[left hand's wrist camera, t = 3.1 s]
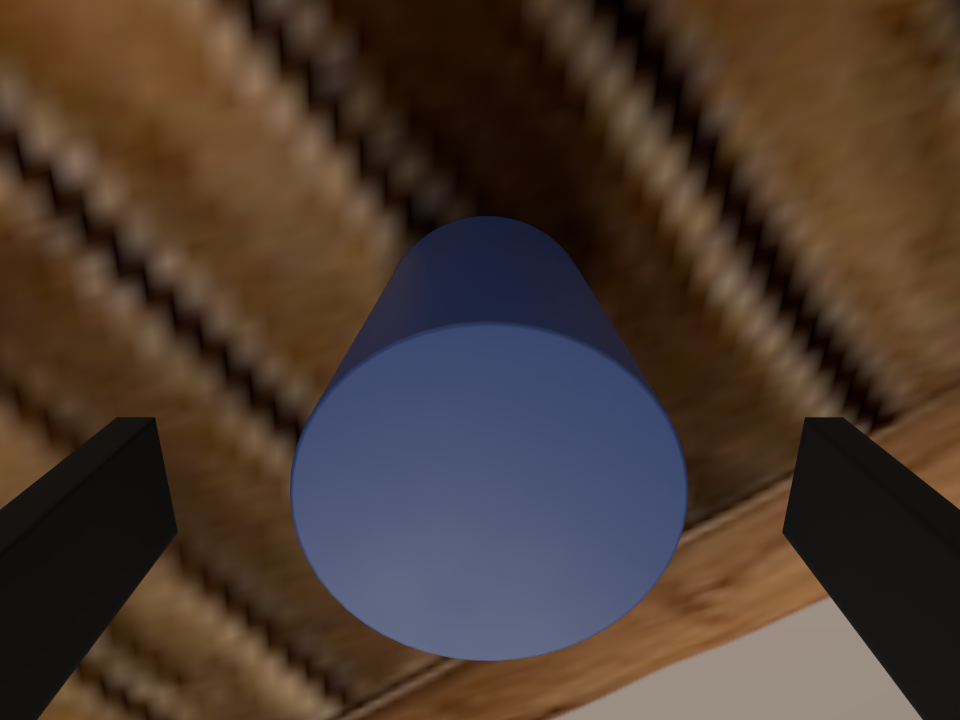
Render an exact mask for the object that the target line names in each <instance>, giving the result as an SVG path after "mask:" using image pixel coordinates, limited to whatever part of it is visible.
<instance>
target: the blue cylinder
mask: <svg viewBox="0 0 960 720" xmlns="http://www.w3.org/2000/svg"><path fill="white" fill-rule="evenodd" d="M290 498H291V508H292V517H293V521H294V524H295V528H296V532H297V536H298V539H299V542H300V544H301V547H302V549H303V551H304V554H305V556H306V558H307V560H308V562H309V564H310V565H311V567H312V569H313V570H314V572H315V574H316V575H317V577H318V578H319V580H320V581H321V582H322V583H323V585H324V586H325V587H326V588H327V590H328V591H329V592H330V594H331V595H332V596H333V597H334V598H335V599H336V600H337V601H338V602H339V603H340V604H341V605H342V606H343V607H345V608H346V609H347V610H348V611H349V612H350V613H352V614H353V615H354V616H355V617H357V618H358V619H359V620H361V621H362V622H363V623H365V624H366V625H368V626H369V627H371V628H373V629H374V630H376V631H378V632H379V633H381V634H383V635H384V636H387V637H389V638H391V639H393V640H395V641H397V642H400V643H402V644H404V645H407V646H410V647H413V648H415V649H418V650H421V651H424V652H428V653H432V654H436V655H441V656H445V657H450V658H458V659H466V660H483V661H499V660H512V659H521V658H527V657H533V656H538V655H543V654H546V653H550V652H553V651H557V650H560V649H564V648H566V647H569V646H571V645H574V644H576V643H579V642H581V641H584V640H586V639H588V638H589V637H591V636H593V635H595V634H597V633H599V632H601V631H603V630H604V629H606V628H607V627H609V626H610V625H612V624H613V623H615V622H616V621H618V620H619V619H621V618H622V617H623V616H625V615H626V614H627V613H628V612H629V611H630V610H631V609H633V608H634V607H635V606H636V605H637V604H638V603H639V602H640V601H641V600H642V599H643V598H644V597H645V596H646V595H647V594H648V592H649V591H650V590H651V589H652V588H653V587H654V586H655V584H656V583H657V581H658V580H659V578H660V577H661V575H662V574H663V573H664V571H665V570H666V568H667V567H668V565H669V562H670V560H671V558H672V556H673V554H674V552H675V550H676V548H677V546H678V543H679V540H680V537H681V534H682V531H683V527H684V523H685V517H686V511H687V505H688V475H687V468H686V461H685V456H684V453H683V450H682V446H681V443H680V440H679V437H678V434H677V432H676V430H675V428H674V426H673V424H672V422H671V420H670V418H669V416H668V414H667V412H666V410H665V409H664V407H663V406H662V404H661V402H660V401H659V399H658V398H657V396H656V394H655V393H654V391H653V389H652V388H651V386H650V385H649V383H648V381H647V380H646V378H645V377H644V375H643V373H642V372H641V370H640V368H639V367H638V365H637V364H636V362H635V360H634V359H633V357H632V356H631V354H630V352H629V351H628V349H627V347H626V346H625V344H624V343H623V341H622V339H621V338H620V336H619V335H618V333H617V331H616V330H615V328H614V326H613V325H612V323H611V322H610V320H609V318H608V317H607V315H606V314H605V312H604V310H603V309H602V307H601V305H600V304H599V302H598V301H597V299H596V297H595V296H594V294H593V292H592V291H591V289H590V288H589V286H588V284H587V283H586V281H585V280H584V278H583V276H582V275H581V273H580V271H579V270H578V268H577V267H576V265H575V264H574V262H573V261H572V259H571V258H570V256H569V255H568V254H567V253H566V251H565V250H564V249H563V248H562V247H561V246H560V245H559V244H558V243H557V242H556V241H554V240H553V239H552V238H551V237H550V236H548V235H547V234H545V233H544V232H542V231H540V230H539V229H537V228H535V227H533V226H531V225H528V224H526V223H524V222H521V221H517V220H514V219H511V218H504V217H498V216H478V217H469V218H465V219H460V220H456V221H453V222H451V223H448V224H446V225H443V226H441V227H439V228H437V229H436V230H434V231H432V232H430V233H429V234H427V235H426V236H425V237H423V238H422V239H421V240H419V241H418V242H417V243H416V244H415V245H414V246H413V247H412V248H411V249H410V250H409V251H408V253H407V254H406V255H405V257H404V258H403V259H402V261H401V262H400V264H399V265H398V267H397V269H396V271H395V272H394V274H393V276H392V277H391V279H390V281H389V282H388V284H387V286H386V288H385V289H384V291H383V293H382V294H381V296H380V298H379V299H378V301H377V303H376V305H375V306H374V308H373V310H372V311H371V313H370V315H369V316H368V318H367V320H366V322H365V323H364V325H363V327H362V328H361V330H360V332H359V333H358V335H357V337H356V339H355V340H354V342H353V344H352V345H351V347H350V349H349V350H348V352H347V354H346V356H345V357H344V359H343V361H342V362H341V364H340V366H339V367H338V369H337V371H336V373H335V374H334V376H333V378H332V379H331V381H330V383H329V384H328V386H327V388H326V390H325V391H324V393H323V395H322V396H321V398H320V400H319V401H318V403H317V405H316V407H315V408H314V410H313V412H312V414H311V415H310V417H309V419H308V421H307V422H306V424H305V426H304V428H303V431H302V434H301V436H300V439H299V442H298V444H297V447H296V450H295V455H294V460H293V464H292V469H291V483H290Z"/></svg>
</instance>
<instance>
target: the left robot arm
mask: <svg viewBox="0 0 960 720" xmlns="http://www.w3.org/2000/svg"><path fill="white" fill-rule="evenodd" d="M177 533H178V531H177V526H176V521H175V516H174V511H173V506H172V501H171V496H170V491H169V486H168V481H167V476H166V471H165V466H164V461H163V456H162V451H161V446H160V441H159V436H158V431H157V425H156V420H155V417H117V418H116V419H114V420H113V421H112V422H111V423H109V424H108V425H107V426H105V427H104V428H103V429H102V430H100V431H99V432H98V433H97V434H95V435H94V436H93V437H92V438H90V439H89V440H88V441H87V442H85V443H84V444H83V445H81V446H80V447H79V448H78V449H76V450H75V451H74V452H73V453H71V454H70V455H69V456H68V457H66V458H65V459H64V460H63V461H61V462H60V463H59V464H57V465H56V466H55V467H54V468H52V469H51V470H50V471H49V472H47V473H46V474H45V475H44V476H42V477H41V478H40V479H38V480H37V481H36V482H35V483H33V484H32V485H31V486H30V487H28V488H27V489H26V490H25V491H23V492H22V493H21V494H20V495H18V496H17V497H16V498H14V499H13V500H12V501H11V502H9V503H8V504H7V505H6V506H4V507H3V508H2V509H1V510H0V720H37V719H38V718H39V717H40V715H41V714H42V713H43V711H44V710H45V709H46V707H47V706H48V705H49V703H50V702H51V701H52V699H53V698H54V697H55V695H56V694H57V693H58V691H59V690H60V689H61V687H62V686H63V685H64V683H65V682H66V681H67V679H68V678H69V677H70V675H71V674H72V673H73V671H74V670H75V669H76V667H77V666H78V665H79V663H80V662H81V661H82V659H83V658H84V657H85V655H86V654H87V653H88V651H89V650H90V649H91V647H92V646H93V645H94V643H95V642H96V641H97V639H98V638H99V637H100V635H101V634H102V633H103V631H104V630H105V629H106V627H107V626H108V625H109V623H110V622H111V621H112V619H113V618H114V617H115V615H116V614H117V613H118V611H119V610H120V609H121V607H122V606H123V605H124V603H125V602H126V601H127V599H128V598H129V597H130V595H131V594H132V593H133V591H134V590H135V589H136V587H137V586H138V585H139V583H140V582H141V581H142V579H143V578H144V577H145V575H146V574H147V573H148V571H149V570H150V569H151V567H152V566H153V565H154V563H155V562H156V561H157V559H158V558H159V557H160V555H161V554H162V553H163V551H164V550H165V549H166V547H167V546H168V545H169V544H170V542H171V541H172V540H173V538H174V537H175V536H176V534H177ZM782 533H783V534H784V536H785V537H786V538H787V540H788V541H789V542H790V544H791V545H792V546H793V548H794V549H795V550H796V551H797V553H798V554H799V555H800V557H801V558H802V559H803V561H804V562H805V563H806V565H807V566H808V567H809V569H810V570H811V571H812V573H813V574H814V575H815V577H816V578H817V579H818V581H819V582H820V583H821V585H822V586H823V587H824V589H825V590H826V591H827V593H828V594H829V595H830V597H831V598H832V599H833V601H834V602H835V603H836V605H837V606H838V607H839V609H840V610H841V611H842V613H843V614H844V615H845V617H846V618H847V619H848V621H849V622H850V623H851V625H852V626H853V627H854V629H855V630H856V631H857V633H858V634H859V635H860V637H861V638H862V639H863V641H864V642H865V643H866V645H867V646H868V647H869V649H870V650H871V651H872V653H873V654H874V655H875V657H876V658H877V659H878V661H879V662H880V663H881V665H882V666H883V667H884V669H885V670H886V671H887V673H888V674H889V675H890V677H891V678H892V679H893V681H894V682H895V683H896V685H897V686H898V687H899V689H900V690H901V691H902V693H903V694H904V695H905V697H906V698H907V699H908V701H909V702H910V703H911V705H912V706H913V707H914V709H915V710H916V711H917V713H918V714H919V715H920V717H921V718H922V719H923V720H960V510H959V509H958V508H957V507H956V506H954V505H953V504H952V503H951V502H949V501H948V500H947V499H946V498H944V497H943V496H942V495H940V494H939V493H938V492H937V491H935V490H934V489H933V488H932V487H930V486H929V485H928V484H927V483H925V482H924V481H923V480H922V479H920V478H919V477H918V476H916V475H915V474H914V473H913V472H911V471H910V470H909V469H908V468H906V467H905V466H904V465H903V464H901V463H900V462H899V461H897V460H896V459H895V458H894V457H892V456H891V455H890V454H889V453H887V452H886V451H885V450H884V449H882V448H881V447H880V446H879V445H877V444H876V443H875V442H873V441H872V440H871V439H870V438H868V437H867V436H866V435H865V434H863V433H862V432H861V431H860V430H858V429H857V428H856V427H855V426H853V425H852V424H851V423H849V422H848V421H847V420H846V419H844V418H843V417H805V420H804V425H803V431H802V436H801V441H800V446H799V451H798V456H797V461H796V466H795V471H794V476H793V481H792V486H791V491H790V496H789V501H788V506H787V511H786V516H785V521H784V526H783V531H782Z"/></svg>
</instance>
